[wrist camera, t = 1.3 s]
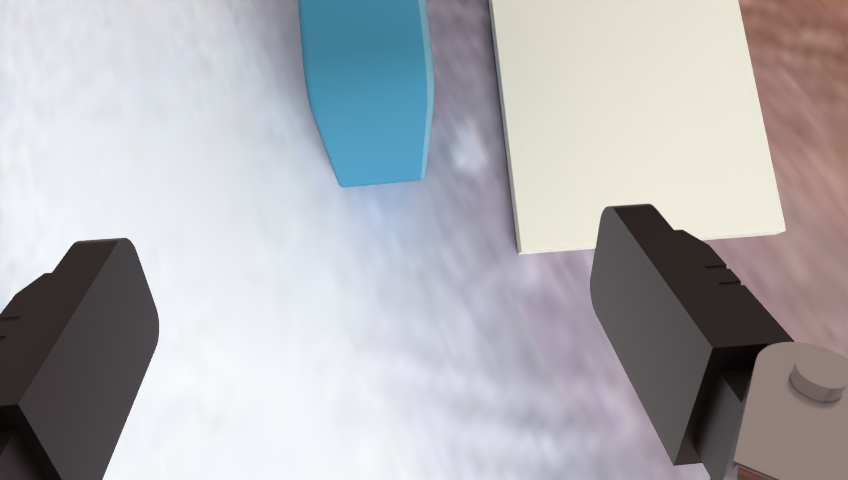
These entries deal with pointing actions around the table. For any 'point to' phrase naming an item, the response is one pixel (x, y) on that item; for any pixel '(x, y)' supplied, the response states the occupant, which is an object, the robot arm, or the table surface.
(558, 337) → the table surface
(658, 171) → the cream mat
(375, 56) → the data package
